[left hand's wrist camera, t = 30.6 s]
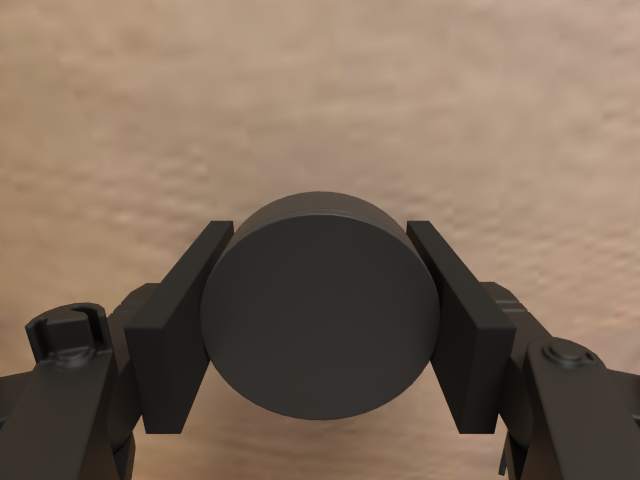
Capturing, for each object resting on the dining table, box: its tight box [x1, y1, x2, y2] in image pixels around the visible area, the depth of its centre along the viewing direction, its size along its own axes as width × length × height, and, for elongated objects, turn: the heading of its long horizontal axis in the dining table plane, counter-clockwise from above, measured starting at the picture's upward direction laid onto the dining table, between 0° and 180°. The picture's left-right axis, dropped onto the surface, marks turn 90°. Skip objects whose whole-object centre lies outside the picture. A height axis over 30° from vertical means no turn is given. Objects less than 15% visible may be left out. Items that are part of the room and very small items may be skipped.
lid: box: [200, 192, 441, 420], centre depth 11 cm, size 6×6×2 cm
